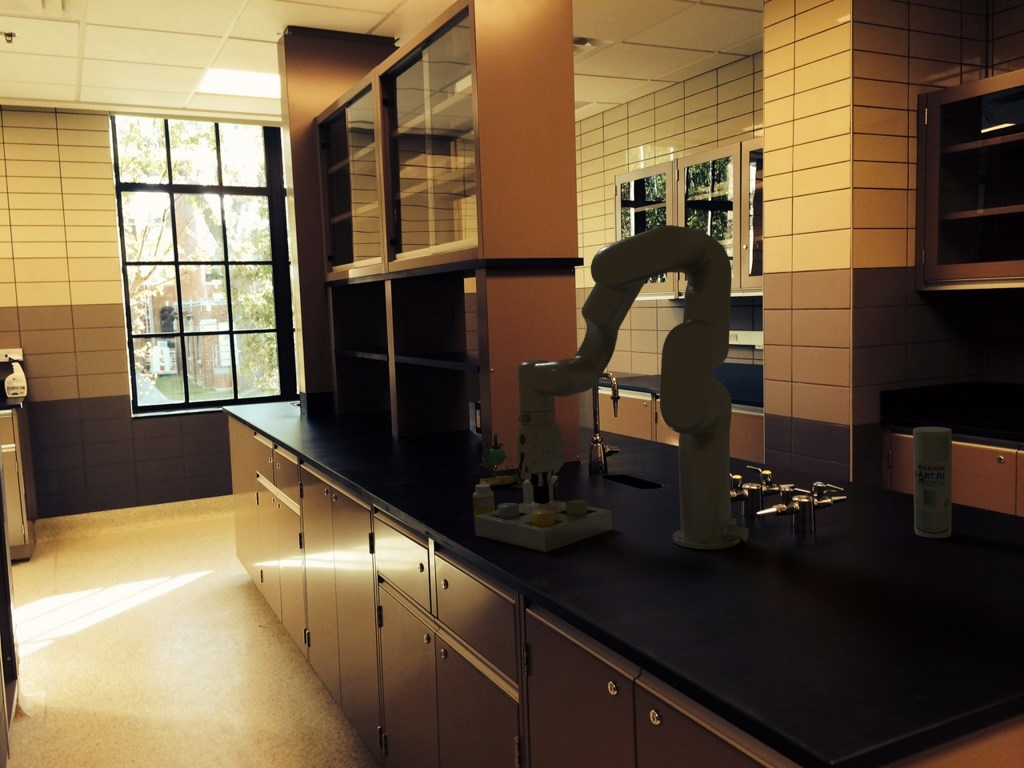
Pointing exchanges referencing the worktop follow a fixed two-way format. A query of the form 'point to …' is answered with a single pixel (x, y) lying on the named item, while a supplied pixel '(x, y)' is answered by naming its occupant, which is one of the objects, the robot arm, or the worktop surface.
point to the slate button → (508, 511)
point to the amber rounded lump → (543, 518)
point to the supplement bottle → (483, 500)
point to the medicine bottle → (552, 490)
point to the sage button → (576, 508)
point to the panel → (543, 538)
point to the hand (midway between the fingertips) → (541, 502)
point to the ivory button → (542, 505)
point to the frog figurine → (497, 458)
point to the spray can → (932, 481)
